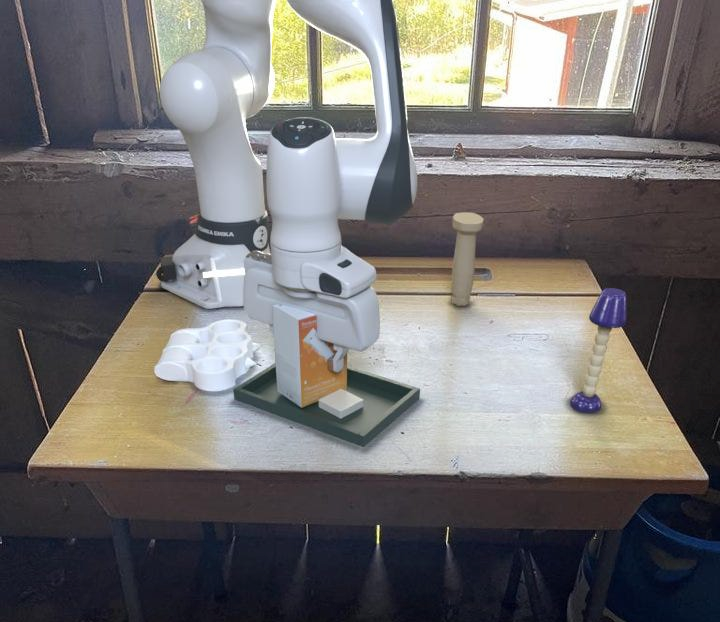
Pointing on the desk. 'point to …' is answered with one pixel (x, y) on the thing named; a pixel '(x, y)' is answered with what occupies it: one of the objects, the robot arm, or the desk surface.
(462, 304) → the handle
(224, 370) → the white brass knuckles
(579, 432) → the desk surface
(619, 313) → the toy lamp
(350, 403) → the chalk block
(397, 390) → the tray
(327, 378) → the small box
